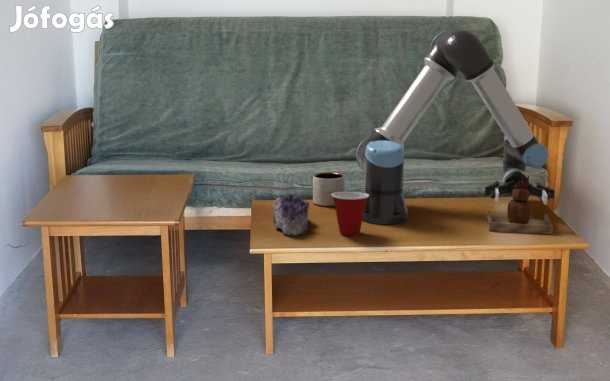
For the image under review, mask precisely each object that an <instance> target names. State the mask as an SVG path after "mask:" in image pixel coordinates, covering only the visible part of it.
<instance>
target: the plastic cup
mask: <svg viewBox="0 0 610 381" xmlns="http://www.w3.org/2000/svg"><path fill="white" fill-rule="evenodd" d="M332 197H333V199H334V204H335V206H334V207H335V208H334V209H335V213H336V220H337V223H338V231H339V234H340V235H341V236H344V237H356V236H359V235H360V233H361V228H362V223H363V214H364V209H365V205H366V201H367V198H368V197H369V194H366V193H365V192H360V191H345V192H336V193H332Z"/></svg>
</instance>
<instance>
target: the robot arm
mask: <svg viewBox="0 0 610 381" xmlns="http://www.w3.org/2000/svg"><path fill="white" fill-rule="evenodd" d="M423 59H424V66H423V68H422V69H421V71H420V72H419V73H418V74H417V76H416V77H415V79H414V81H413V82H412V83H411V85H410V86H409V88H408V89H407V90H406V92H405V93H404V94H403V96H402V98H401V99H400V100H399V102H398V103H397V104H396V106H395V108H394V109H393V110H392V111H391V114H390V115H389V116H388V117H387V119H386V120H385V122H384V123H383V124H382V125H381V126H380V127H375V128H374V129H373V131H372V132H371V133H370V134H369V136H368V137H367V138H365V139H364V140H362V141H361V142H360V143H359V145H358V146H357V149H356V153H355V156H356V157H355V159H356V162H357V164H358V167H359V168H360V169H361V170H362V171H363V173H365V178H364V179H365V182H364V183H365V184H364V186H365V188H364V189H365V191H364V193H366V194H369V197H368V198H367V201H366V205H365V209H364V214H363V220H362V222H363V221H364V222H367V223H369V224H370V223H371V224H376V225H377V224H378V225H393V224H395V225H396V224H400V223H404V222H405V221H407V220H408V219H409V211H408V210H409V209H408V207H407V204H406V199H405V197H404V169H405V168H404V166H405V165H404V164H405V161H404V160H405V153H404V151H405V150H404V149H405V148H404V146H405V145H404V143H405V141H406V139H407V138H408V136H409V135H410V133H411V132H412V130H413V129H414V127H416V125H417V123H418V122H419V121H420V119H421V117H422V116H423V115H424V114H425V113H426V111H427V110H428V108H429V107H430V105H431V104H432V102H433V101H434V99H435V98H436V97H437V95H438V94H439V93H440V91H441V90H442V89H443V87H444V86H445V84H446V83H447V82H448V81H451V80H455V79H456V77H457V76H458V74H459V73H460V74H461V75H462V76H463V78H464V79H465V81H466V82H469V83H471V84H472V85H473V88H475V90H476V92H477V93H478V95H479V96H480V98H481V100H482V101H483V103H484V105H486V108H487V109H488V110H489V112H490V114H491V115H492V117H493V119H494V120H495V122H496V124H497V125H498V126H499V128H500V130H501V131H502V133H503V134H504V135H503V136H504V139H503V155H502V156H503V158H502V159H503V160H502V169H501V179H502V181H503V182H502V183H501V182H500V181H498V180H496V181H495V182H493V183H491V184H489V185H487V186H485V187H484V196H486V197H487V196H490V199H493V200H495V203H499V198H500V197H499V196H501V195H505V194H506V195H510V196H512V191H513V189H514V188H515V184H516V183H517V185H518V182H519V181H520V185H521V181H522V177H523V178H524V185H525V182H526V179H527V177H528V175H527V167H530V168H533V169H537V168H538V169H539V168H541V167H543V166H544V165H546V164H547V162H548V160H549V157H550V156H549V154H550V153H549V151H548V149H547V148H546V146H545V145H543V144H542V143H540V142H539V140H538V139H537V137H536V136H535V134H534V133H533V131H532V129H531V127H530V125H529V124H528V122H527V121H526V119H525V117H524V116H523V115H522V112H520V109H519V107H518V106H517V105H516V103H515V101H514V100H513V99H512V96H511V94H509V92H508V90H507V89H506V86H505V85H504V83H503V82H502V80H501V78H500V77H499V75H498V74H497V72H496V70H495V69H494V67H495V62H494V60H493V59H492V57H491V55H490V54H489V51H487V49H486V47H485V46H484V44H483V42H482V41H481V39H480V38H479V37H478V36H477V34H475V33H473V32H472V31H470V30H466V29H455V28H451V29H450V28H449V29H445V30H443V31H441V32H439V33H438V34H437V35H436V36H435V37H434V38H433V40H432V42H431V44H430V49H429V51H428V52H427V53H426V55H425V57H424V58H423ZM528 191H529V196H536V197H538V198H539V197H540V198H541V201H542V202H543V204H544V205H548V200H550V199H555V189H553V188H550V187H547V186H546V185H543V184H541V183H539V182H537V183H535V185H533V184H532V183H530V182H528Z"/></svg>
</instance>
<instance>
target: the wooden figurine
mask: <svg viewBox="0 0 610 381" xmlns="http://www.w3.org/2000/svg"><path fill="white" fill-rule="evenodd" d="M529 179H530V175H527V179H526V182H525V185H524V178H523V177H522V181H521V185H520V181H519V182H518V185H517V183H516V184H515V188H514V189H513V191H512V195H511V197H512V199H511V200H510V201H509V202H508V204H507V212H506V214H507V218H508V219H509V222H510V223H516V224H528V222H529V219H531V216H532V210H533V209H532V204H531V202H530V201H529V198H530V195H529V191H528V182H529V181H530V180H529ZM529 183H530V182H529Z"/></svg>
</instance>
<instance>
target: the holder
mask: <svg viewBox="0 0 610 381" xmlns="http://www.w3.org/2000/svg"><path fill="white" fill-rule="evenodd" d="M486 215H487V218H486V221H487V225H488V232H497V233H500V232H501V233H521V234H535V235H536V234H539V235H553V233H554V232H553V230H554V225H553V224H552V221H551V219H550V217H549V215H548V213H544V214H543V216H544V217H543V219H536V218H535V219H533V218H530V219H529V222H528V224H516V223H510V222H509V219H508V217H492V213H491V211H490V210H487V214H486Z"/></svg>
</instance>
